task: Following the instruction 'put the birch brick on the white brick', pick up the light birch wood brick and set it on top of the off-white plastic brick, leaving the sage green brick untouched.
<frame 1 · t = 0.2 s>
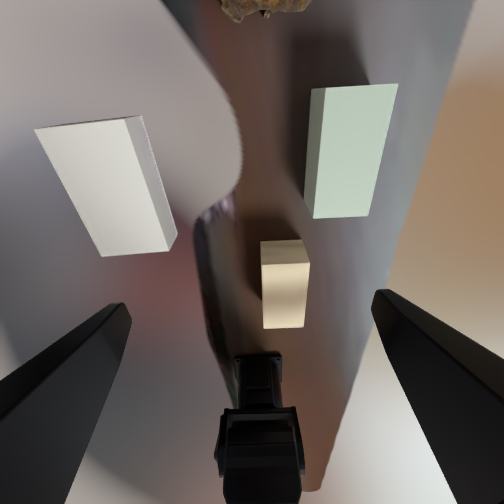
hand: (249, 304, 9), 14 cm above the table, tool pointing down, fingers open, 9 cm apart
sage brick: (332, 148, 19), on the table
birch brick: (280, 272, 26), on the table
white brick: (127, 185, 21), on the table
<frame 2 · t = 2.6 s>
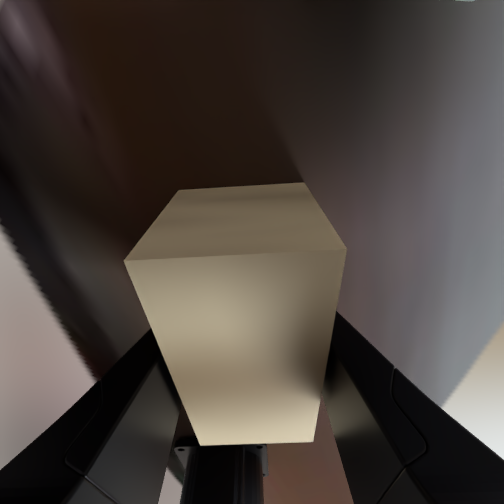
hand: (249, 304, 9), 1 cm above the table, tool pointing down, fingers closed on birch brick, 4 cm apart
birch brick: (249, 283, 10), on the table, touching gripper
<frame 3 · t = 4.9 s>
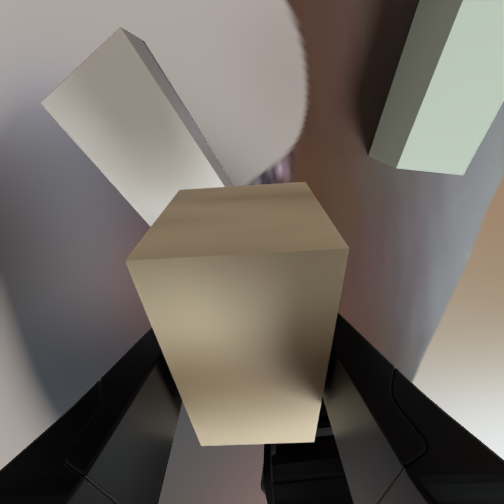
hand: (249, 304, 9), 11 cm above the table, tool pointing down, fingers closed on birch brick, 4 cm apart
sage brick: (420, 90, 15), on the table
birch brick: (250, 283, 10), point 10 cm above the table, touching gripper
white brick: (162, 149, 17), on the table
when the fingers open (6 cm above the table, at t = 7.0 s): birch brick drops 2 cm, point 3 cm above the table.
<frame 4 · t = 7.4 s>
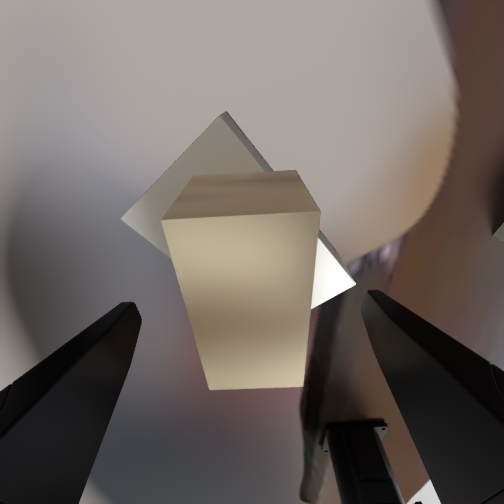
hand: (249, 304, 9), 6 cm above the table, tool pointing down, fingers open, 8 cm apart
birch brick: (250, 258, 12), point 3 cm above the table
white brick: (248, 226, 14), on the table
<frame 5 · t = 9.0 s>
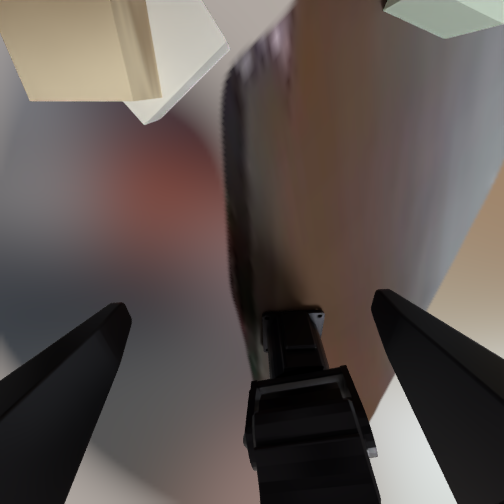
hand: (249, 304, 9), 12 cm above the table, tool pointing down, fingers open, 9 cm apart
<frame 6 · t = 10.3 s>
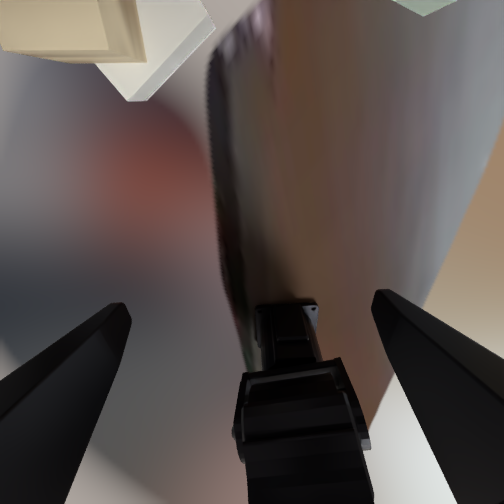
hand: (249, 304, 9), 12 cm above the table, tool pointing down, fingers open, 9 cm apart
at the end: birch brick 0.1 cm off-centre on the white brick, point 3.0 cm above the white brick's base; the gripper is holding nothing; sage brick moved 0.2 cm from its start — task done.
